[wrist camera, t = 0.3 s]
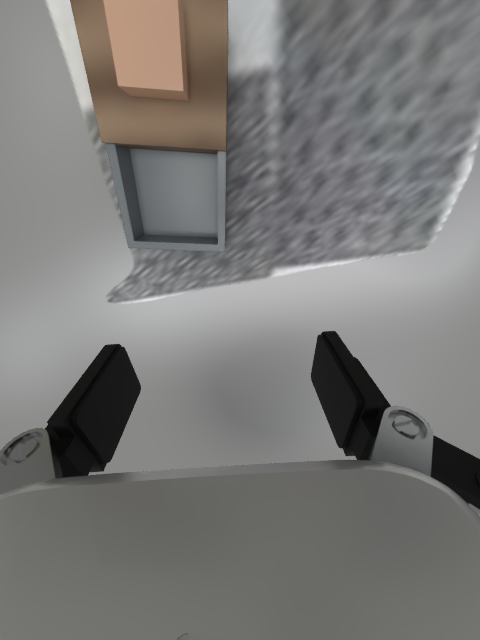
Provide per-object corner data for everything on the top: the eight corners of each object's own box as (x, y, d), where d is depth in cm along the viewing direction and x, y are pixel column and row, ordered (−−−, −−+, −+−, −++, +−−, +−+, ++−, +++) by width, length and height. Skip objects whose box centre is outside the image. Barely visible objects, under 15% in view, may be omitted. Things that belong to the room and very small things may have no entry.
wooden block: (100, 22, 24) (65, -20, 19) (228, 34, 25) (227, -3, 20) (123, 148, 30) (101, 142, 25) (226, 155, 31) (225, 150, 26)
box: (123, 148, 30) (105, 143, 26) (226, 155, 31) (225, 151, 27) (140, 240, 37) (128, 247, 32) (225, 243, 37) (224, 251, 33)
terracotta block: (116, 3, 20) (99, -22, 17) (183, 10, 20) (177, -14, 18) (130, 96, 23) (118, 85, 21) (188, 100, 23) (183, 91, 21)
